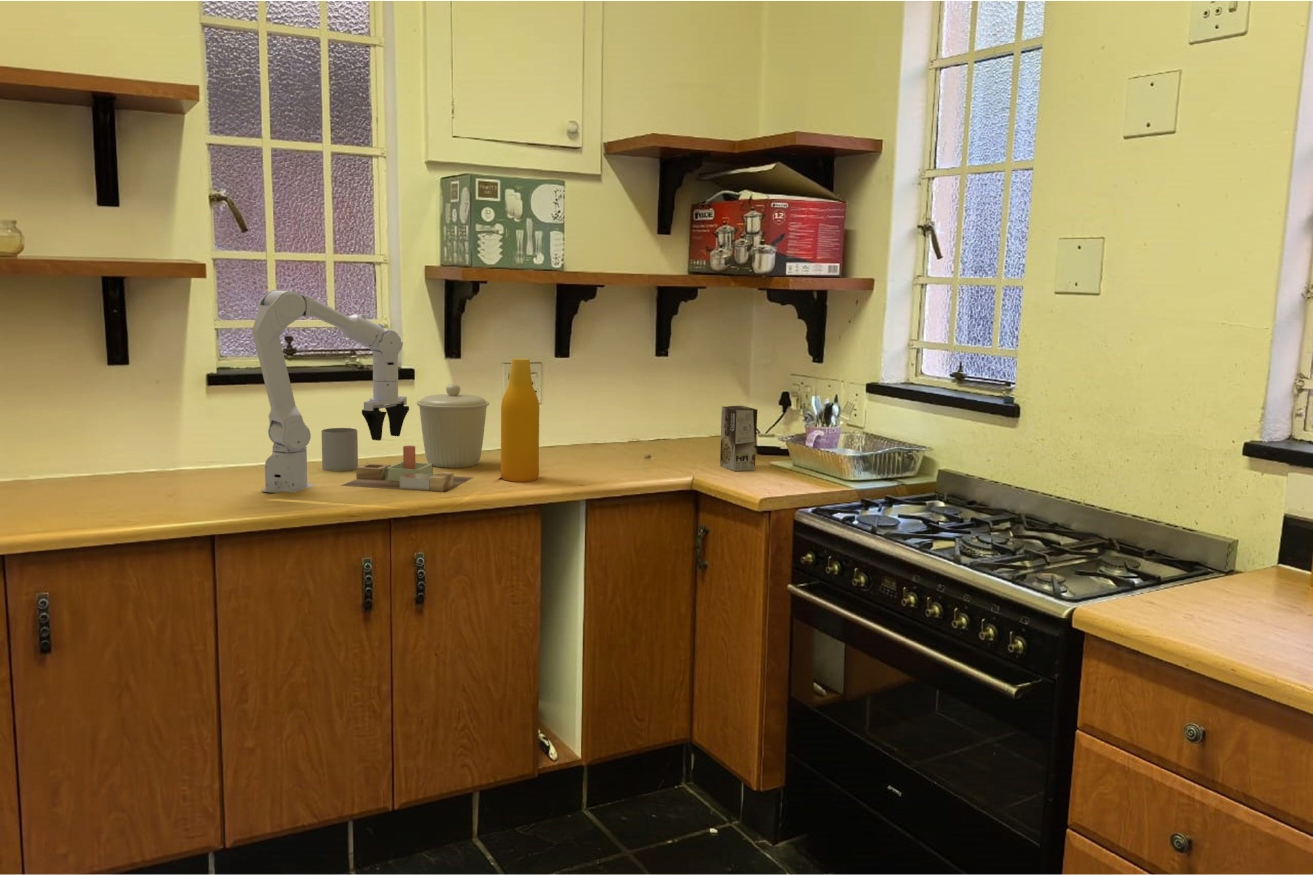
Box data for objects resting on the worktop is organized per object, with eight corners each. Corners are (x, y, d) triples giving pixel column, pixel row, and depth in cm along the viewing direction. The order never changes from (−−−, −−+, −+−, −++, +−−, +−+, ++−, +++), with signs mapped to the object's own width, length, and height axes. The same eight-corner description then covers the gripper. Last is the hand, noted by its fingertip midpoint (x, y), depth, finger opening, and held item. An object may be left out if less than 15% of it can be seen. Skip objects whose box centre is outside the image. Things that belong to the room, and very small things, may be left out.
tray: (418, 482, 242) (418, 470, 242) (385, 480, 243) (385, 468, 243) (432, 475, 251) (432, 463, 250) (401, 473, 252) (401, 461, 252)
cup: (363, 468, 261) (362, 428, 260) (350, 474, 253) (349, 433, 252) (330, 466, 262) (329, 427, 260) (316, 472, 254) (315, 432, 252)
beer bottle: (535, 482, 248) (536, 361, 244) (496, 481, 249) (497, 359, 244) (541, 475, 257) (542, 358, 253) (504, 474, 258) (505, 357, 253)
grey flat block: (429, 490, 234) (429, 479, 233) (399, 488, 235) (399, 477, 235) (439, 485, 240) (439, 474, 239) (410, 483, 241) (410, 472, 240)
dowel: (411, 477, 245) (410, 447, 244) (401, 476, 246) (400, 446, 245) (417, 475, 248) (417, 446, 247) (408, 474, 249) (407, 445, 248)
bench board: (445, 494, 232) (445, 478, 232) (338, 488, 236) (338, 472, 236) (473, 479, 250) (473, 465, 249) (373, 473, 254) (372, 459, 253)
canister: (450, 457, 279) (450, 379, 276) (503, 465, 270) (503, 384, 267) (402, 467, 264) (401, 384, 261) (456, 475, 255) (456, 389, 252)
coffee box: (756, 470, 272) (758, 409, 270) (733, 471, 270) (736, 409, 267) (740, 464, 281) (743, 405, 278) (718, 465, 278) (721, 405, 276)
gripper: (389, 377, 253) (389, 432, 255) (352, 382, 240) (353, 440, 242) (414, 379, 251) (414, 435, 253) (378, 384, 237) (378, 443, 239)
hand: (386, 438), depth 247 cm, fingers open, 7 cm apart
